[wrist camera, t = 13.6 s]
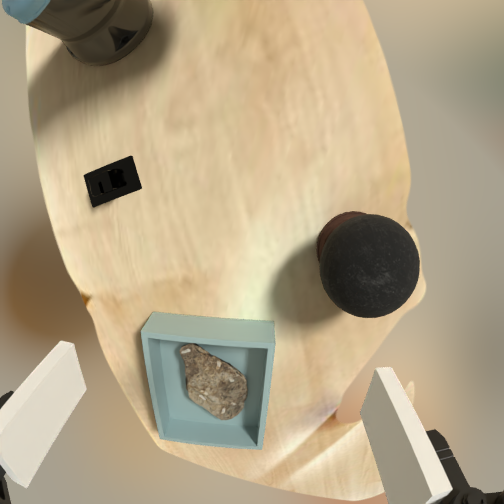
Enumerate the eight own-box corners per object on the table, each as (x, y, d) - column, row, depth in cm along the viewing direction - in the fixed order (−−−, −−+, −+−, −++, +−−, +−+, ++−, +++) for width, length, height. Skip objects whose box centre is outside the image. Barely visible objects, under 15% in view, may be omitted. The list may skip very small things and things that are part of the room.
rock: (269, 393, 53) (269, 406, 50) (226, 416, 56) (224, 429, 52) (198, 327, 49) (194, 339, 46) (156, 357, 52) (151, 369, 48)
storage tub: (153, 311, 50) (140, 331, 44) (273, 321, 50) (275, 343, 44) (167, 417, 58) (160, 438, 51) (262, 426, 57) (262, 449, 51)
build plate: (88, 213, 46) (74, 219, 41) (76, 172, 44) (61, 174, 40) (154, 190, 45) (143, 193, 40) (141, 144, 43) (129, 143, 38)
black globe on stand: (292, 239, 46) (307, 276, 32) (363, 187, 43) (408, 201, 29) (339, 303, 49) (366, 356, 34) (404, 255, 46) (452, 292, 32)
